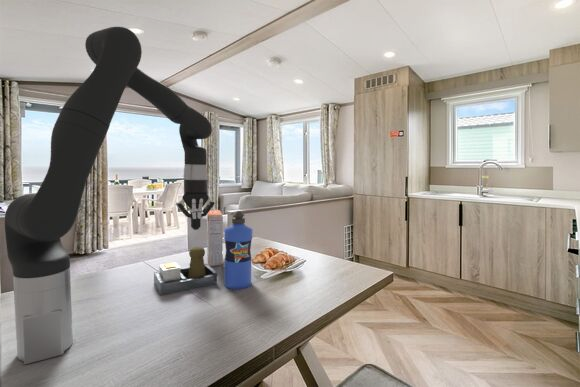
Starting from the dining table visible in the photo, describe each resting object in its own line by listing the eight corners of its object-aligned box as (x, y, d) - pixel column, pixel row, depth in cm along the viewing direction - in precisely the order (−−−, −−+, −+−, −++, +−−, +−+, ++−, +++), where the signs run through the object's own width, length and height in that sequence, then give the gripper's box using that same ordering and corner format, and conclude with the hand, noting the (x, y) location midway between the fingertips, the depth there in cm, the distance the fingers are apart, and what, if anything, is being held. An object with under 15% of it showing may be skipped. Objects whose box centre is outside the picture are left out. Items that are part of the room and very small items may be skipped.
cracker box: (206, 256, 132) (206, 209, 130) (220, 255, 134) (220, 209, 132) (207, 266, 119) (207, 214, 117) (222, 265, 120) (223, 214, 119)
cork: (209, 276, 106) (209, 246, 105) (201, 282, 100) (201, 250, 99) (193, 275, 107) (192, 244, 106) (184, 281, 101) (184, 249, 100)
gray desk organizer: (216, 283, 102) (217, 262, 101) (160, 295, 92) (160, 271, 91) (206, 274, 110) (206, 254, 110) (154, 284, 100) (153, 262, 100)
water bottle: (254, 287, 100) (255, 213, 97) (226, 291, 96) (227, 214, 94) (247, 277, 108) (248, 209, 106) (221, 280, 105) (222, 210, 103)
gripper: (178, 178, 93) (178, 233, 95) (218, 178, 101) (218, 229, 102) (172, 177, 99) (172, 229, 101) (211, 177, 107) (210, 225, 108)
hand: (195, 229), depth 101 cm, fingers closed
